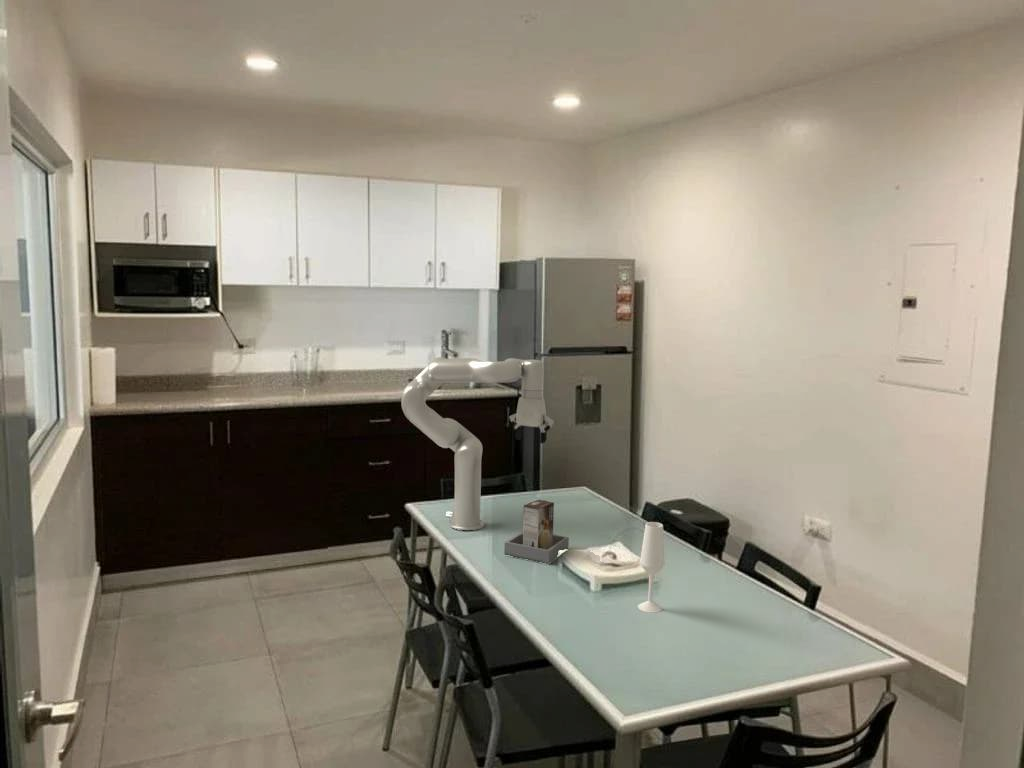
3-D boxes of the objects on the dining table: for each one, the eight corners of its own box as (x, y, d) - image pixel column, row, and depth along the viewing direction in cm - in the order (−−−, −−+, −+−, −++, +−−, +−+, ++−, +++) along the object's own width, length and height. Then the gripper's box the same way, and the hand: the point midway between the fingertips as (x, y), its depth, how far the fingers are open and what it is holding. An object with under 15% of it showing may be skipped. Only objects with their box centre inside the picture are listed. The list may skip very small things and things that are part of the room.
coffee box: (537, 544, 263) (538, 498, 260) (553, 548, 259) (554, 502, 257) (521, 551, 255) (523, 504, 253) (537, 556, 251) (539, 508, 249)
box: (504, 555, 254) (504, 542, 253) (525, 541, 268) (526, 529, 267) (548, 564, 246) (549, 551, 246) (568, 549, 261) (568, 537, 260)
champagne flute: (643, 613, 212) (648, 529, 209) (633, 603, 218) (637, 521, 215) (666, 611, 214) (671, 527, 211) (655, 601, 220) (659, 520, 217)
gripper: (505, 393, 277) (504, 440, 279) (549, 397, 269) (548, 446, 271) (515, 391, 283) (514, 436, 286) (558, 395, 276) (556, 442, 278)
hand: (530, 441), depth 278 cm, fingers open, 9 cm apart
